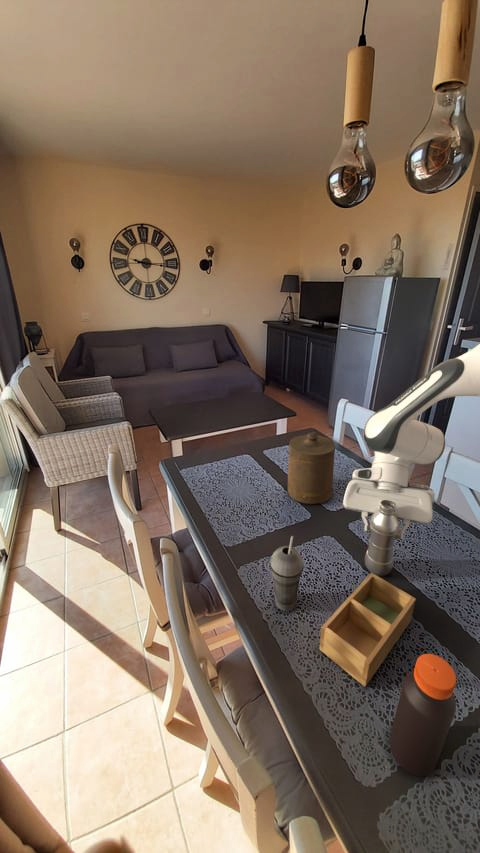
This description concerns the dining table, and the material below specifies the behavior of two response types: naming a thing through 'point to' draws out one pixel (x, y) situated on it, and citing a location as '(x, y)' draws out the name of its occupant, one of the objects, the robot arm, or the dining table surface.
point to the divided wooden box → (366, 627)
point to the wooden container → (310, 468)
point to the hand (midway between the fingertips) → (382, 535)
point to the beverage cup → (286, 575)
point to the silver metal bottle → (382, 538)
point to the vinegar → (423, 715)
